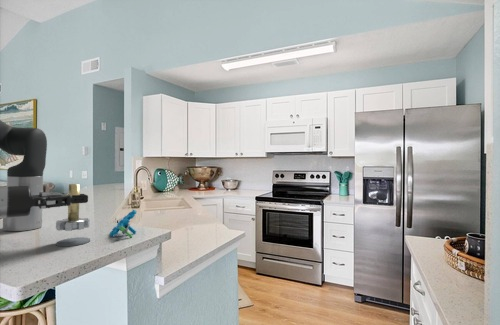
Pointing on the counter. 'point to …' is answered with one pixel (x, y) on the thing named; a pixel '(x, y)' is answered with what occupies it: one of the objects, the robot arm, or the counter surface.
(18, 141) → the robot arm
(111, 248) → the counter surface
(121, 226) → the blue splat disc
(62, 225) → the gear
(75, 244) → the pad
